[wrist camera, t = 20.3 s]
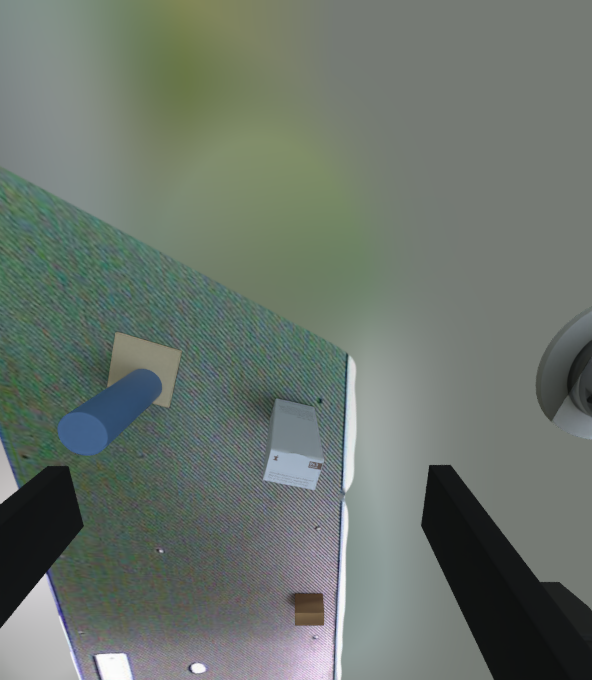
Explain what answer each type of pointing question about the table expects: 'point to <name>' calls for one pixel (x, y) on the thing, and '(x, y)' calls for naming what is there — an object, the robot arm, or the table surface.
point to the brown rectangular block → (309, 609)
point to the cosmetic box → (293, 446)
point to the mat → (145, 363)
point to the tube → (109, 412)
